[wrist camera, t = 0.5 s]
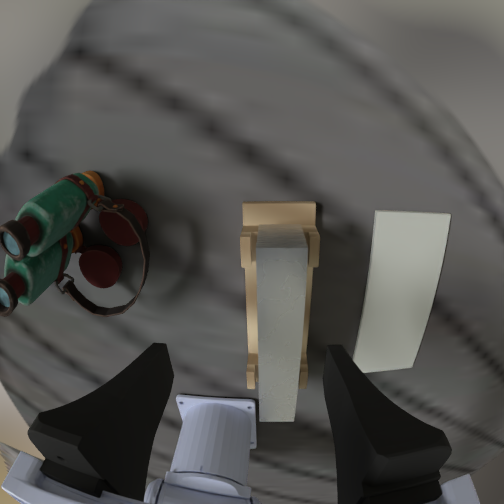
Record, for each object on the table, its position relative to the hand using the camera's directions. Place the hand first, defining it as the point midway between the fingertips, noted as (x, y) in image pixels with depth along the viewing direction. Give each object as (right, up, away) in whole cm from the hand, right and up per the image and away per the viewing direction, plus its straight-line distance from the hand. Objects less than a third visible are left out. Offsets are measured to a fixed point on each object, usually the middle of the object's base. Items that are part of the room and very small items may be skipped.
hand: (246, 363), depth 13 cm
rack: (+2, +1, +11) cm, 11 cm away
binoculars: (-11, +7, +9) cm, 16 cm away
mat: (+12, +1, +10) cm, 16 cm away
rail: (+2, 0, +9) cm, 9 cm away
